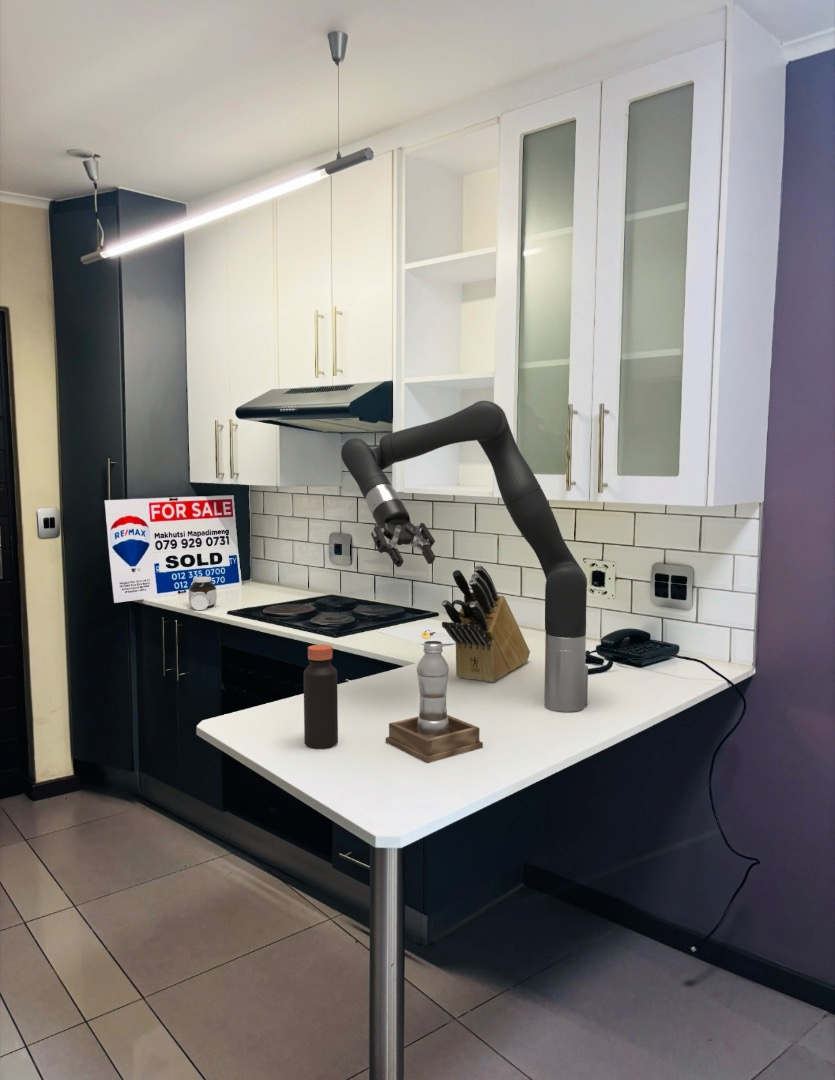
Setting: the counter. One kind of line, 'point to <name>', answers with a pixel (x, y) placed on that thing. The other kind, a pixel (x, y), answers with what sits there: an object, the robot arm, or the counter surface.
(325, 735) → the vinegar
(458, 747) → the square wooden tray
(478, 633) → the knife block
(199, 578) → the spread jar
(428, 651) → the silver metal bottle
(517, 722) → the counter surface
